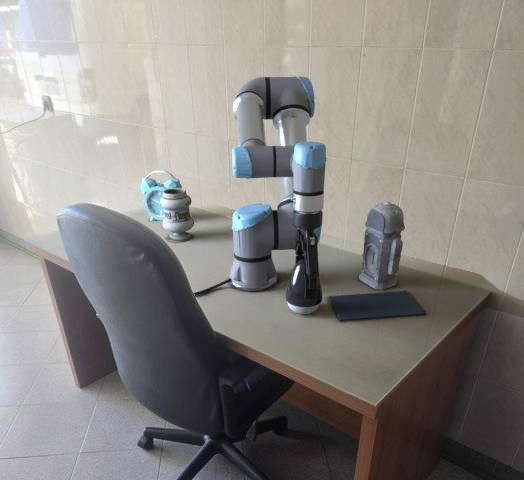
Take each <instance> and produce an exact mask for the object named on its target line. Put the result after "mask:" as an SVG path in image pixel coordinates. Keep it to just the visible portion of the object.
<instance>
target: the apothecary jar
mask: <svg viewBox="0 0 524 480" xmlns="http://www.w3.org/2000/svg"><path fill="white" fill-rule="evenodd" d="M192 202H193V201H192V198H191V196H190V195H188V194H187V190H186V189H185V188H183V187H182V188H172V189H167V190H165V191H163V197H162V198H161V199H160V205H161V206H162V207H163V208H164V213H165V219H164V220H162V227H163V229H164V230H165V231H166V232H168V233H169V232H170V234H168V236H167V238H166V239H167V240H169V241H170V242H173V243H184V242H188V241H191V240H192V239H193V238H194V237H193V234H192V233H191V232H188V231H190V230H191V229H192V228H193V227H194V226H195V219H194V218H193V217H192V216H191V211H190V206H191V204H192Z"/></svg>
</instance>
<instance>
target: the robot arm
mask: <svg viewBox="0 0 524 480" xmlns="http://www.w3.org/2000/svg"><path fill="white" fill-rule="evenodd" d="M315 107H316V103H315V90H314V85H313V83H312V81H311V80H310V78H309V77H307V76H298V75H293V76H259V77H255V78H253V79H251V80H249V81H247V82H246V83H245V84H243V85H242V86H241V87H240V88H239V89H238V91H237V92H236V93H235V96H234V98H233V102H232V113H233V117H234V118H235V120H236V127H237V141H238V142H237V143H238V144H237V145H238V146H235V147H233V148H232V150H231V161H232V162H231V163H232V175H233V177H235V178H236V179H246V180H250V179H266V178H267V179H268V178H269V179H270V178H280V188H281V189H280V190H281V200H280V201H279V202H278V204H277V206H276V207H277V209H273V208H272V205H270V204H267V203H251V204H247V205H244V206H242V207H239V208H238V209H236V210H235V211H234V212H233V214H232V225H231V230H232V241H233V242H232V243H233V261H232V264H231V268H230V272H229V276H228V279H225V280H223V281H221V282H218V283H217V284H214V285H212V286H209V287H207V288H205V289H203V290H200V291H196V292H193V293H194V294H195V296H200V295H203V294H205V293H208V292H210V291H212V290H215V289H217V288H220V287H222V286H224V285H226V284H228V283H229V284H230V286H231V287H233V288H234V289H236V290H240V291H243V292H244V291H245V292H260V291H265V290H268V289H271V288H273V287H274V286H275V285H277V283H278V272H277V269H276V266H275V263H274V260H273V258H272V257H273V256H272V252H273V251H281V250H282V251H285V250H286V251H287V250H294V253H295V264H294V266H295V265H296V263H297V262H298V261H299V260H301V259H305V262H306V272H307V274H305V275H304V277H306V278H305V300H306V299H315V297H316V278H317V277H319V276H320V269H319V267H320V266H319V251H318V250H319V249H318V245H319V242H320V239H321V234H322V226H323V214H324V212H323V210H324V201H325V180H326V179H325V177H326V163H327V147H326V145H325V143H322V142H319V141H307V126H308V125H309V124H310V122H311V119H312V118H313V117H314V115H315V111H316V110H315V109H316V108H315ZM264 120H272V126H273V127H274V129H276V130H277V135H278V137H277V138H278V145H267V138H266V137H267V136H266V129H265V124H264V123H265V122H264ZM195 296H194V297H195Z"/></svg>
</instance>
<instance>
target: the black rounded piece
mask: <svg viewBox="0 0 524 480" xmlns="http://www.w3.org/2000/svg"><path fill="white" fill-rule="evenodd" d="M295 263H296V262H295ZM305 274H307V272H306V262H305V259H301V260H299V261H298V262H297V263H296V265H295V264H294V266H293V268H292V270H291V272H290V275H289V278H288V281H287V286H286V292H285V300H286V303H287V305H288V307H289V309H290V310H292V311H293V312H294V313H296V314H299V315H309V314H312V313H314V312H316V311H317V310H318V309H319V307H320V306H321V303H322V302H323V298H324V297H323V286H322V281H321V280H322V279H321V277H320V275H319V277H317V278H316V297H315V299H306V300H305V278H306V277H304V275H305Z"/></svg>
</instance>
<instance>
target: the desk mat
mask: <svg viewBox="0 0 524 480" xmlns="http://www.w3.org/2000/svg"><path fill="white" fill-rule="evenodd" d="M327 300H329V303H330V304H331V306H332V308H333V311H334V313H335V314H336V316H337V318H338V320H339V322H351V321H363V320H377V319H391V318H404V317H415V316H416V317H417V316H425V315H426V312H425V311H424V310H423V308H422V307H421V306H420V305H419V304H418V302H416V300H415V299H414V298H413V297H412V296H411V295H410V294H409V293H408V291H407V290H399V291H398V290H397V291H384V292H371V293H356V294H341V295H328V296H327Z"/></svg>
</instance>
